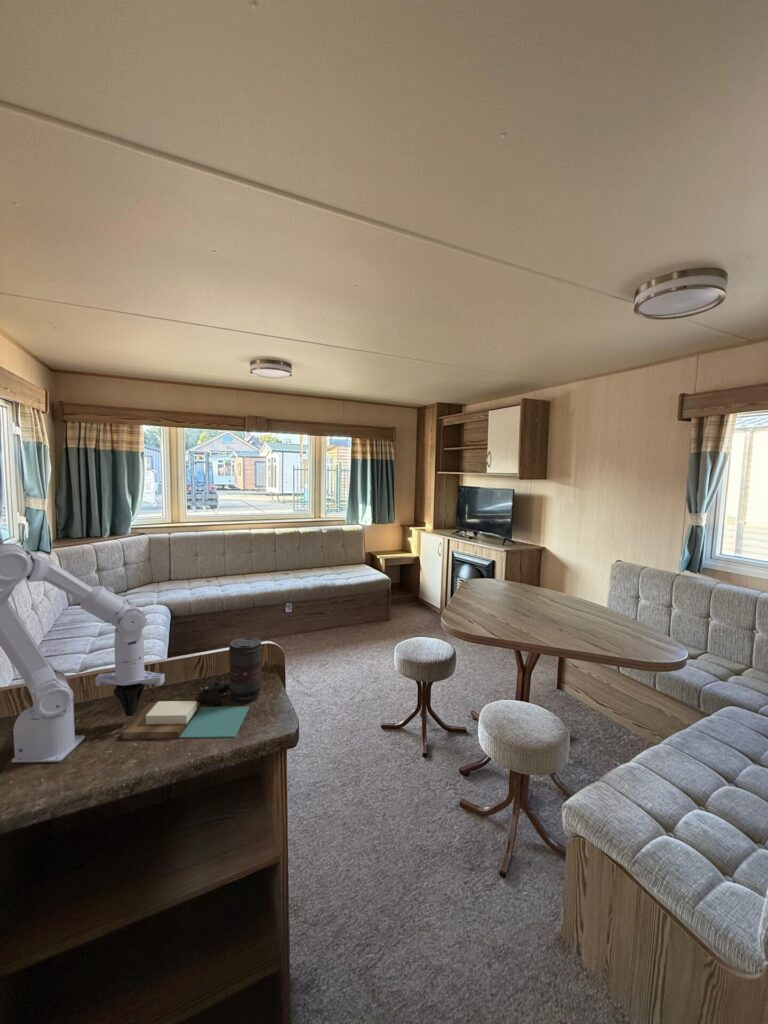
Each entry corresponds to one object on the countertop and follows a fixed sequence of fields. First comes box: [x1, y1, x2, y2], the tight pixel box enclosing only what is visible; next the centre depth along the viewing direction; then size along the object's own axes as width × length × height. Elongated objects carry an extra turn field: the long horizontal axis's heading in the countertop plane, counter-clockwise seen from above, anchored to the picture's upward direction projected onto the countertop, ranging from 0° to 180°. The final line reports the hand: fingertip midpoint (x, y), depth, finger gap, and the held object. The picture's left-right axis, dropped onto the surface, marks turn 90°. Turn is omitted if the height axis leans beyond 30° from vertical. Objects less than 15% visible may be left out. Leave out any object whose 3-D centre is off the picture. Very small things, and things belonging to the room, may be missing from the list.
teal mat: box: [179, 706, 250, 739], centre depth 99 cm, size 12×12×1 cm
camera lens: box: [228, 636, 263, 705], centre depth 109 cm, size 8×8×15 cm
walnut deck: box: [121, 701, 201, 740], centre depth 98 cm, size 12×12×2 cm
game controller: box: [198, 681, 230, 707], centre depth 110 cm, size 10×5×6 cm
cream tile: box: [146, 700, 198, 724], centre depth 98 cm, size 9×6×2 cm, turn 93°
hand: (131, 713), depth 97 cm, fingers closed
